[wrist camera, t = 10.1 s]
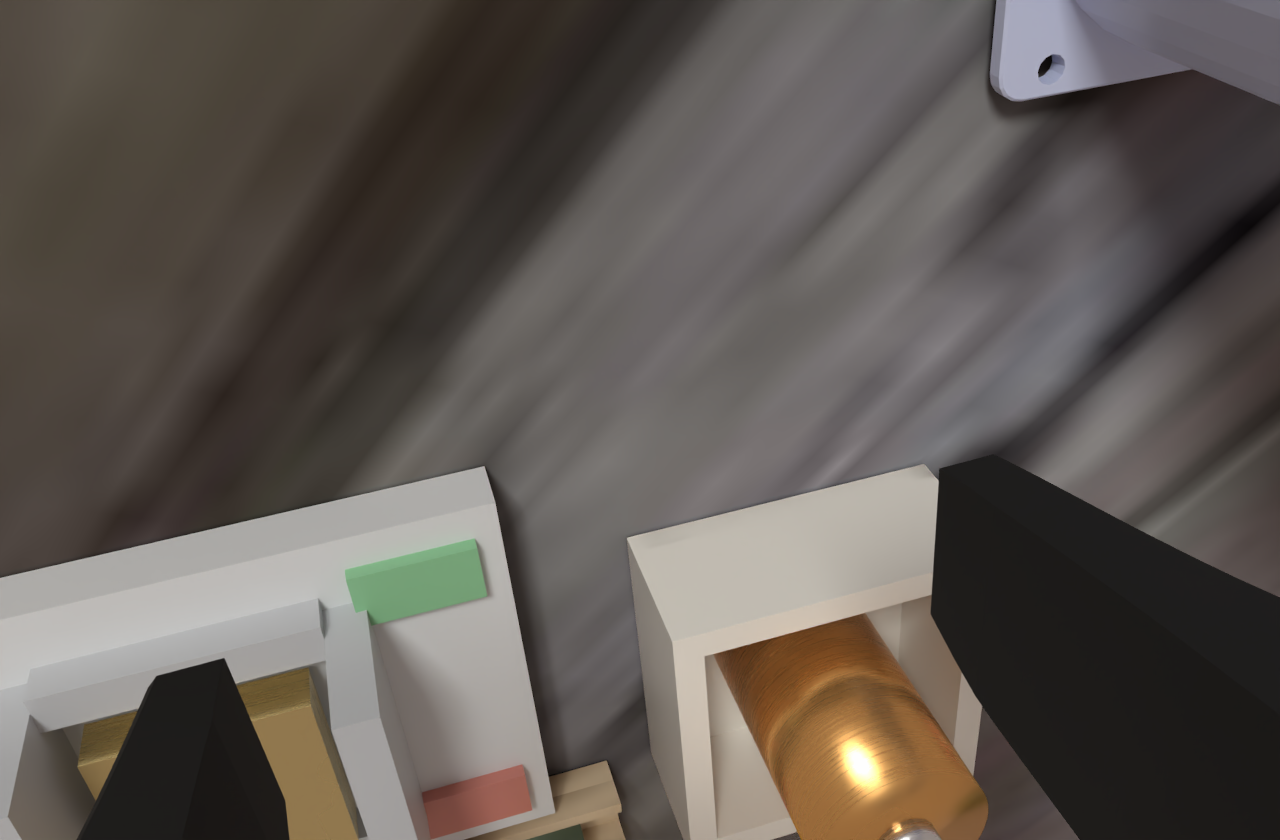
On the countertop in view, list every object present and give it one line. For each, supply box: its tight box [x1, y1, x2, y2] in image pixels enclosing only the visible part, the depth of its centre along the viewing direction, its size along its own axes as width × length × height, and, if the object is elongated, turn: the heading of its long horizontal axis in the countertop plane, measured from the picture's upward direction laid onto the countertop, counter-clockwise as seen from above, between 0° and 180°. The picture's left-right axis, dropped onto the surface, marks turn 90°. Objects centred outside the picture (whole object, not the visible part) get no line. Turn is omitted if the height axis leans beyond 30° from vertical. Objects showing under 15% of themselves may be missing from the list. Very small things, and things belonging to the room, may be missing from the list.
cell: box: [713, 613, 988, 840], centre depth 23 cm, size 3×3×6 cm
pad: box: [77, 667, 359, 840], centre depth 22 cm, size 4×4×1 cm
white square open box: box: [627, 464, 982, 840], centre depth 25 cm, size 7×7×3 cm
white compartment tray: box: [0, 466, 555, 840], centre depth 22 cm, size 12×9×4 cm
